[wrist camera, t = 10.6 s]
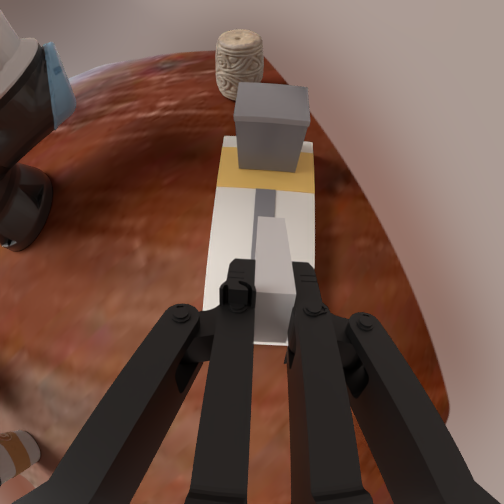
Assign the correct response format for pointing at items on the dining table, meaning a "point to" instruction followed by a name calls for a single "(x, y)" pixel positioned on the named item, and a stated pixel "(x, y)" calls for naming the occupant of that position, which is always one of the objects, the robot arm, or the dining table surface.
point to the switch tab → (270, 125)
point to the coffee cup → (16, 453)
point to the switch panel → (258, 214)
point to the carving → (238, 60)
